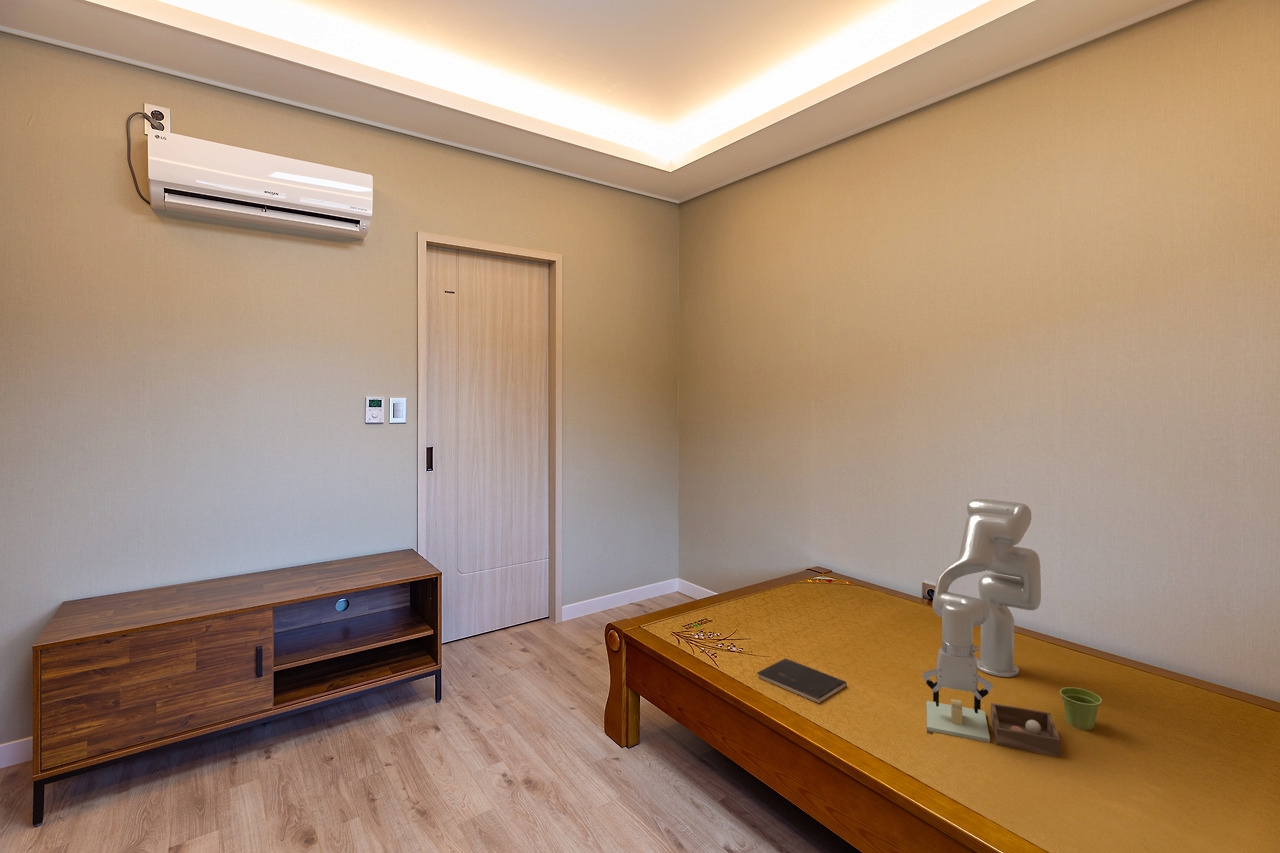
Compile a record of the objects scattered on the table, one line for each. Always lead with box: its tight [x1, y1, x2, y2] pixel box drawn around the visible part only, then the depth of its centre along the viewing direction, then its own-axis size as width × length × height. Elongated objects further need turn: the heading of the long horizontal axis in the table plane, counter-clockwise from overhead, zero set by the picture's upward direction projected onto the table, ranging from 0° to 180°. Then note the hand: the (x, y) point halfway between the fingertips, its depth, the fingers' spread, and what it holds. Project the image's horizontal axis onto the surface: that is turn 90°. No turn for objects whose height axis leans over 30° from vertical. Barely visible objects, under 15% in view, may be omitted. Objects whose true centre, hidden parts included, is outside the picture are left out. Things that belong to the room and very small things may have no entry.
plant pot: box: [1059, 686, 1103, 731], centre depth 169 cm, size 9×9×9 cm
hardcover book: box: [756, 657, 847, 704], centre depth 198 cm, size 16×23×2 cm
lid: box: [926, 698, 991, 743], centre depth 171 cm, size 15×15×5 cm
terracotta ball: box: [1009, 726, 1024, 732], centre depth 162 cm, size 4×4×4 cm
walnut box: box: [990, 702, 1062, 758], centre depth 164 cm, size 14×14×5 cm
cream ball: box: [1025, 720, 1041, 734], centre depth 165 cm, size 4×4×4 cm
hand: (956, 707), depth 171 cm, fingers open, 9 cm apart
